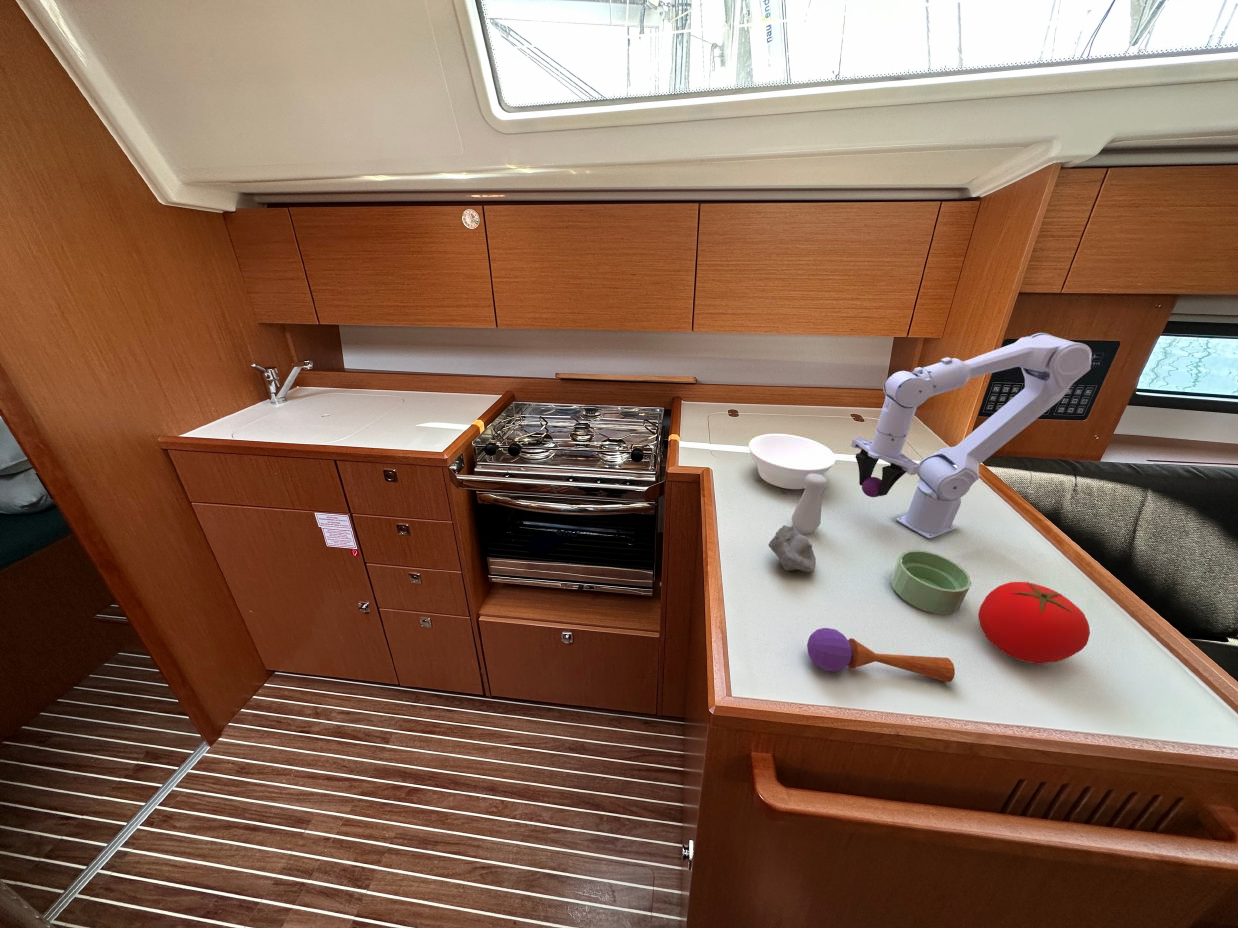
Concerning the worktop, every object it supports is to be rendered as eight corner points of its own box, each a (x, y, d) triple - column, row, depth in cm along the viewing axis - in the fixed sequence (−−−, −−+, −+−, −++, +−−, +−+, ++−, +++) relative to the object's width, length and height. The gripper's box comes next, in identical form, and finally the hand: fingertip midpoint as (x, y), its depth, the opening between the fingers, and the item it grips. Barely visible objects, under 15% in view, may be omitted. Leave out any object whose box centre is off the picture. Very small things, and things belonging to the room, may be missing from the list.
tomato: (950, 625, 78) (976, 574, 73) (1009, 612, 82) (1037, 561, 76) (1022, 686, 68) (1058, 631, 63) (1086, 667, 71) (1124, 614, 66)
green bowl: (914, 567, 92) (923, 544, 89) (972, 604, 83) (985, 580, 80) (876, 582, 87) (885, 559, 85) (934, 623, 78) (946, 599, 76)
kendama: (967, 679, 64) (819, 653, 65) (944, 699, 68) (805, 675, 69) (949, 640, 69) (811, 616, 70) (928, 661, 72) (798, 638, 73)
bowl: (818, 509, 109) (827, 478, 106) (732, 483, 119) (737, 454, 115) (834, 474, 125) (842, 446, 122) (757, 453, 135) (762, 427, 131)
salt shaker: (819, 538, 99) (835, 485, 93) (791, 534, 100) (804, 481, 94) (815, 523, 104) (829, 471, 98) (788, 519, 105) (800, 468, 99)
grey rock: (815, 589, 85) (825, 554, 81) (763, 578, 87) (771, 543, 83) (812, 553, 94) (821, 520, 91) (766, 544, 97) (773, 511, 93)
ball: (868, 489, 105) (874, 471, 103) (886, 498, 101) (892, 480, 99) (854, 492, 103) (860, 475, 101) (872, 502, 100) (878, 484, 98)
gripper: (848, 421, 99) (832, 477, 106) (911, 449, 88) (890, 510, 94) (871, 417, 102) (854, 472, 108) (935, 443, 91) (912, 502, 97)
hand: (872, 489), depth 101 cm, fingers closed on ball, 4 cm apart
